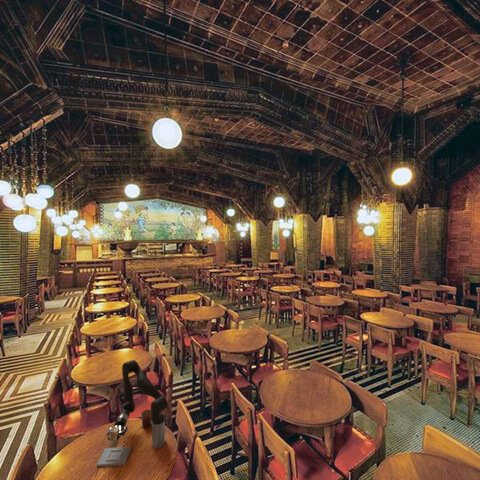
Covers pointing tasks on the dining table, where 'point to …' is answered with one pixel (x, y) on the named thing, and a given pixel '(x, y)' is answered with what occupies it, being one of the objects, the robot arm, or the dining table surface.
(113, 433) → the pillar
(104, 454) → the board
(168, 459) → the dining table surface
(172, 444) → the dining table surface
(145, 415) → the mug
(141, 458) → the dining table surface
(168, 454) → the dining table surface
